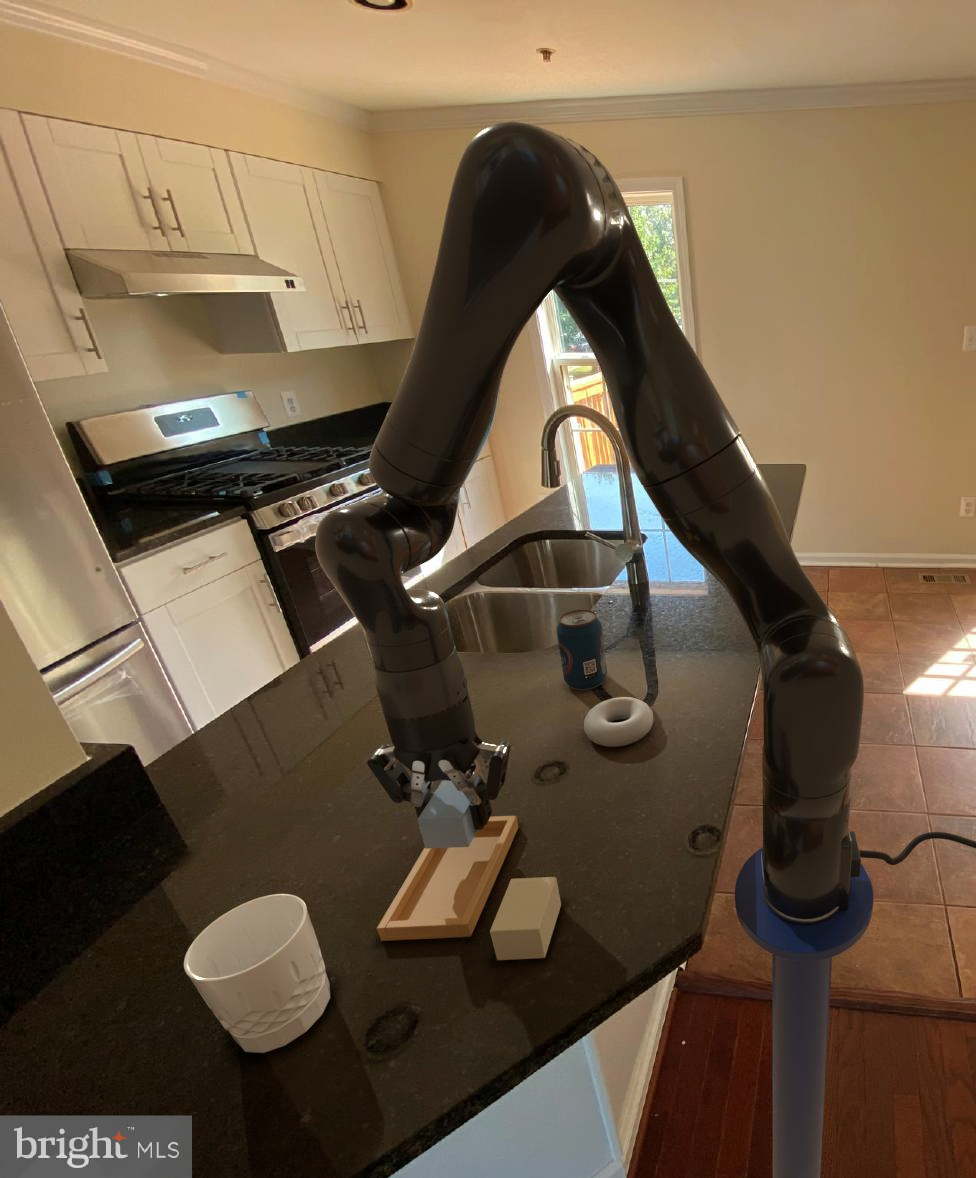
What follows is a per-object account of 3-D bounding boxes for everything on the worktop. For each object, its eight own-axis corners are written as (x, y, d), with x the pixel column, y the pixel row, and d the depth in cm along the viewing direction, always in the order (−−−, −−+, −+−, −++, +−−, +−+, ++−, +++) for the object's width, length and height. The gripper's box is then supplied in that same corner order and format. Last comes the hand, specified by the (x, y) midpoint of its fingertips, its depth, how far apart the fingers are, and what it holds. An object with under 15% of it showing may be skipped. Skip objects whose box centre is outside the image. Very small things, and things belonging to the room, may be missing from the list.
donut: (632, 704, 100) (572, 728, 94) (631, 685, 99) (570, 708, 92) (667, 733, 93) (605, 761, 87) (666, 713, 92) (602, 740, 86)
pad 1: (489, 806, 73) (483, 779, 71) (468, 847, 67) (461, 818, 66) (449, 808, 72) (442, 780, 71) (425, 848, 67) (417, 819, 65)
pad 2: (561, 904, 66) (556, 876, 64) (545, 958, 60) (538, 929, 59) (517, 906, 66) (511, 878, 64) (496, 960, 60) (489, 931, 59)
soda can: (559, 677, 107) (549, 614, 102) (600, 666, 110) (592, 604, 105) (571, 697, 101) (561, 630, 97) (613, 684, 105) (606, 619, 100)
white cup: (275, 1074, 51) (233, 992, 47) (203, 1045, 53) (157, 965, 49) (360, 983, 58) (329, 905, 54) (293, 961, 60) (259, 884, 56)
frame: (518, 826, 76) (516, 815, 75) (470, 936, 62) (467, 924, 62) (445, 829, 75) (441, 818, 75) (380, 941, 62) (376, 928, 61)
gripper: (327, 717, 59) (373, 854, 66) (484, 713, 60) (513, 849, 67) (370, 675, 66) (407, 803, 73) (511, 672, 67) (534, 799, 74)
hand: (458, 824), depth 70 cm, fingers closed on pad 1, 4 cm apart
